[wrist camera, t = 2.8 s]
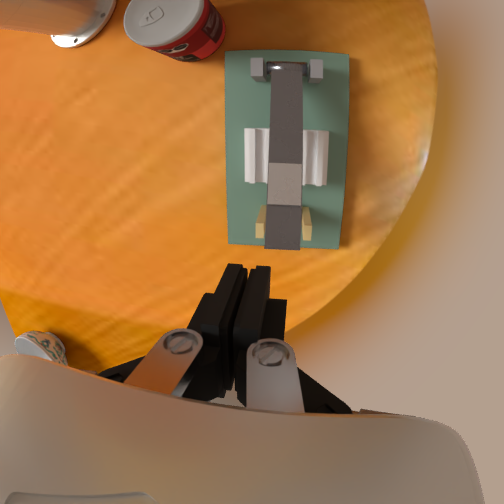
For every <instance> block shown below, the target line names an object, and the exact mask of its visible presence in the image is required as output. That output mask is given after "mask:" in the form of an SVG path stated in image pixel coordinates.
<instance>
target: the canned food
mask: <svg viewBox="0 0 504 504" xmlns="http://www.w3.org/2000/svg"><path fill="white" fill-rule="evenodd" d="M124 29H125V32H126V34H127V35H128V37H129V38H130V39H131V40H133V41H134V42H136V43H137V44H139V45H142V46H144V47H146V48H149V49H151V50H154V51H156V52H159V53H161V54H164V55H166V56H169V57H171V58H173V59H176V60H178V61H182V62H193V61H198V60H201V59H204V58H206V57H208V56H209V55H211V54H212V53H214V52H215V51H216V50H217V49H218V48H219V46H220V45H221V43H222V41H223V39H224V36H225V23H224V20H223V18H222V17H221V15H220V14H219V13H218V11H217V10H216V9H215V7H214V6H213V5H212V3H211V2H210V1H209V0H131V2H130V3H129V5H128V7H127V9H126V12H125V15H124Z"/></svg>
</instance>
